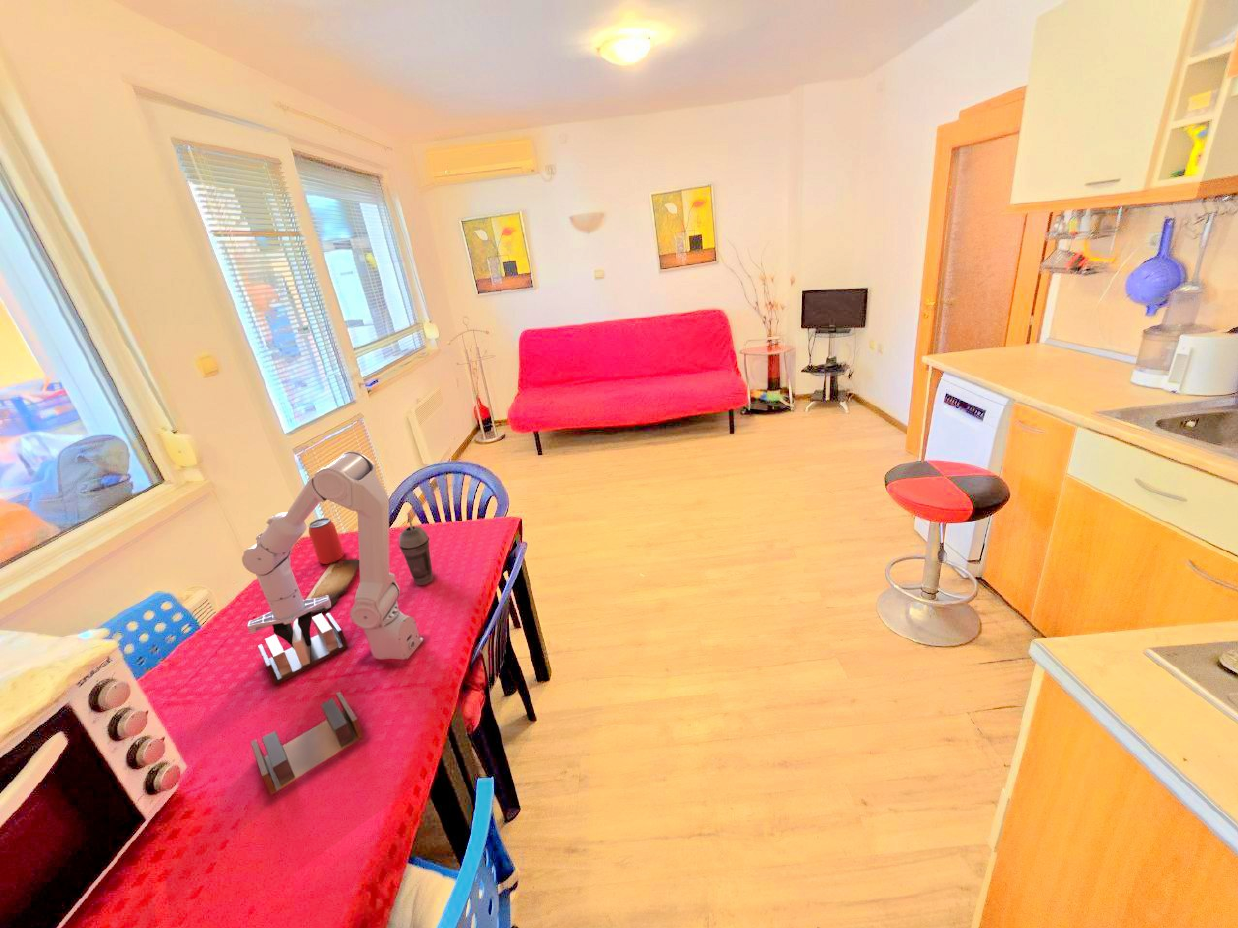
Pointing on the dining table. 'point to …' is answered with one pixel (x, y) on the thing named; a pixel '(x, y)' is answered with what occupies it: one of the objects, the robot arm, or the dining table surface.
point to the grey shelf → (307, 746)
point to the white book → (300, 645)
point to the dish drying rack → (320, 650)
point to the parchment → (334, 581)
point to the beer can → (325, 541)
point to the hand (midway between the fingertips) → (303, 645)
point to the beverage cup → (417, 553)
